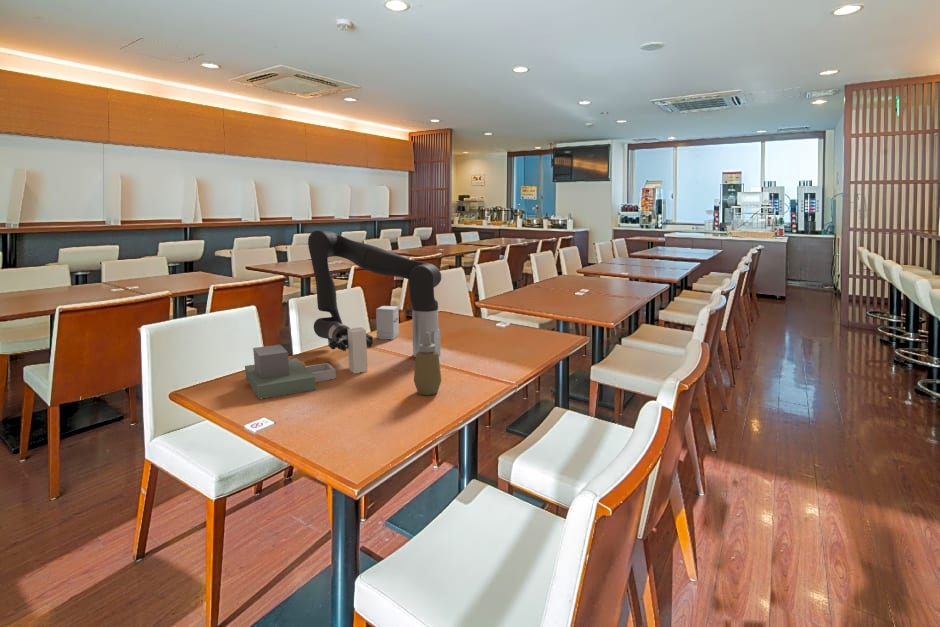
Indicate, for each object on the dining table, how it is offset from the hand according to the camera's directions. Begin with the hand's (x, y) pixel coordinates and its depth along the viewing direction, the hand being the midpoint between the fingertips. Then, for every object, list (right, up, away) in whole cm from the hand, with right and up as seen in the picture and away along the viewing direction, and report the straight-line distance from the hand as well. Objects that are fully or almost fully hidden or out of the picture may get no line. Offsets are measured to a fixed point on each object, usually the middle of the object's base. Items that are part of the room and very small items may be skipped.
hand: (357, 346), depth 173 cm
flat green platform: (-18, -10, -9) cm, 23 cm away
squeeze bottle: (+24, -13, -18) cm, 33 cm away
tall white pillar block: (0, -8, +2) cm, 9 cm away
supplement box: (+3, +1, +45) cm, 46 cm away
